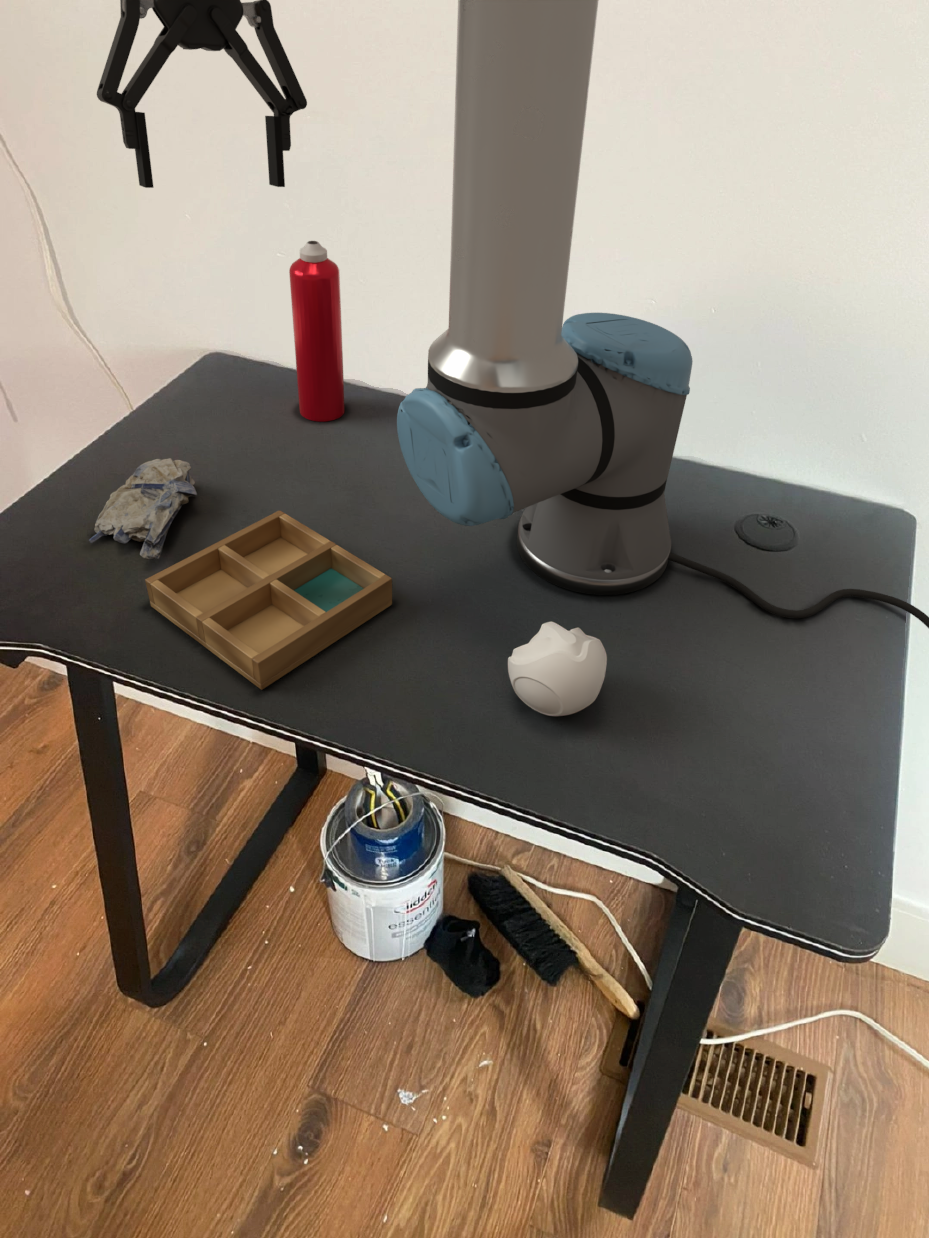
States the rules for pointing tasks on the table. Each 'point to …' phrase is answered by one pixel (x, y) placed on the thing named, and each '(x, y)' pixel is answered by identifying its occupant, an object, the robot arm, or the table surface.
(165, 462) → the crumpled cloth bundle
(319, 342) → the bottle
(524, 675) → the off-white rounded piece
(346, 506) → the table surface
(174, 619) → the wooden divided tray
